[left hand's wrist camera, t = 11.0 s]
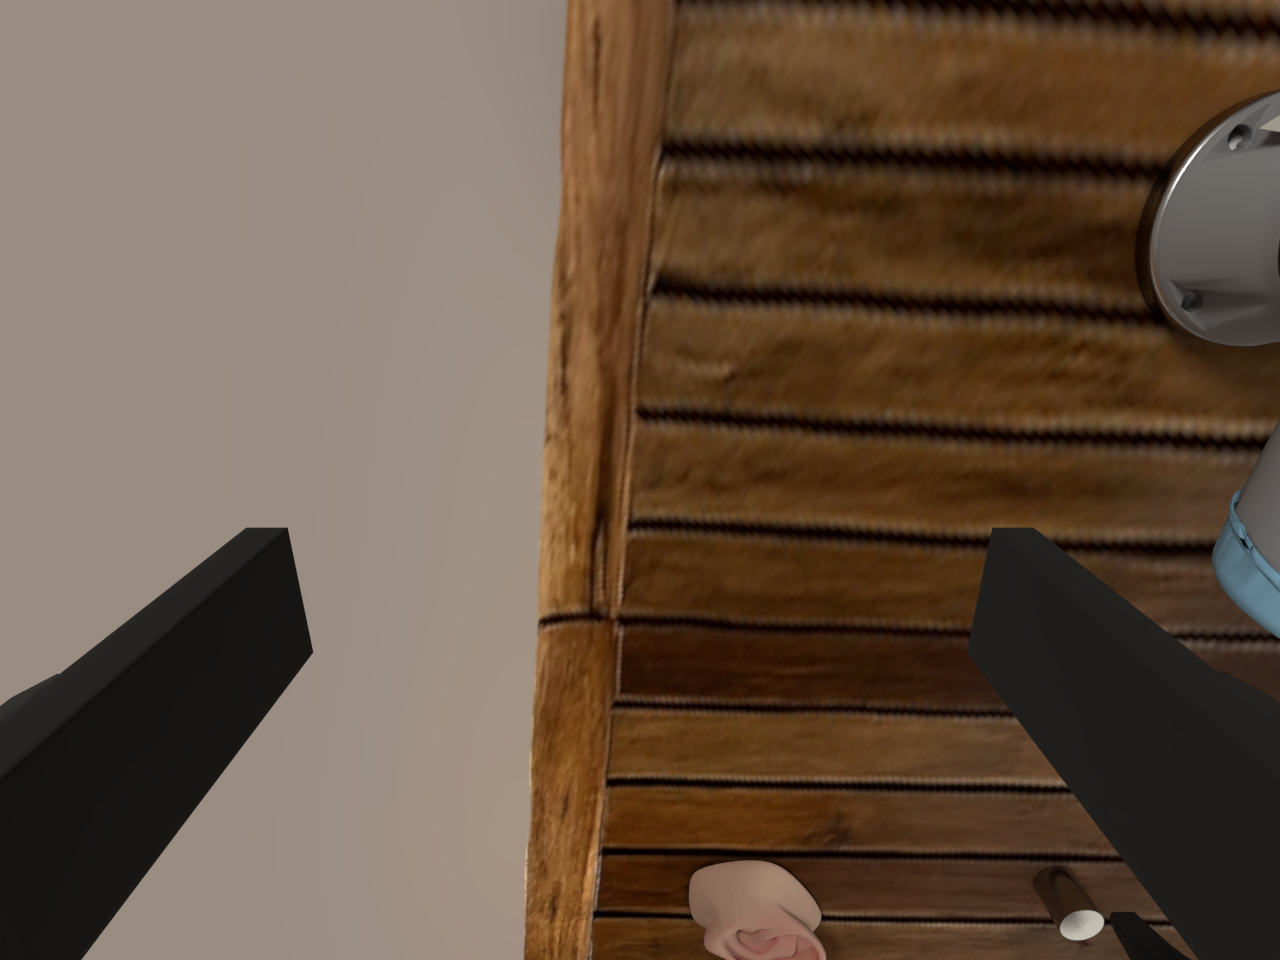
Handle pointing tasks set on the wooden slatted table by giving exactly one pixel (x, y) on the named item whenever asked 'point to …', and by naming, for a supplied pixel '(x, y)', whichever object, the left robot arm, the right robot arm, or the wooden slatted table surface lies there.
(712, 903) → the anatomical model
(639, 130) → the wooden slatted table surface
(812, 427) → the wooden slatted table surface
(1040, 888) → the tin
